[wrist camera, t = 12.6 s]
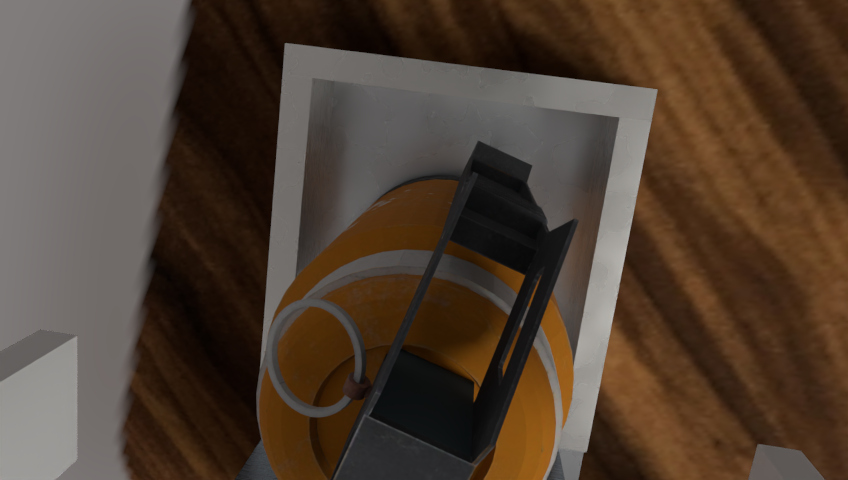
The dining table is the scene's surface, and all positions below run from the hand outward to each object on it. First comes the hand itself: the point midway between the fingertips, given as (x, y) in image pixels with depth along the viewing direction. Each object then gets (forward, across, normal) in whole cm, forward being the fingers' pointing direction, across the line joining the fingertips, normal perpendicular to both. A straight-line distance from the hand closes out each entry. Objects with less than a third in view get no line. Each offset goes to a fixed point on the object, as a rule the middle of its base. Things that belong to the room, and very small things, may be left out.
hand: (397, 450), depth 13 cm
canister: (+19, 0, -1) cm, 19 cm away
